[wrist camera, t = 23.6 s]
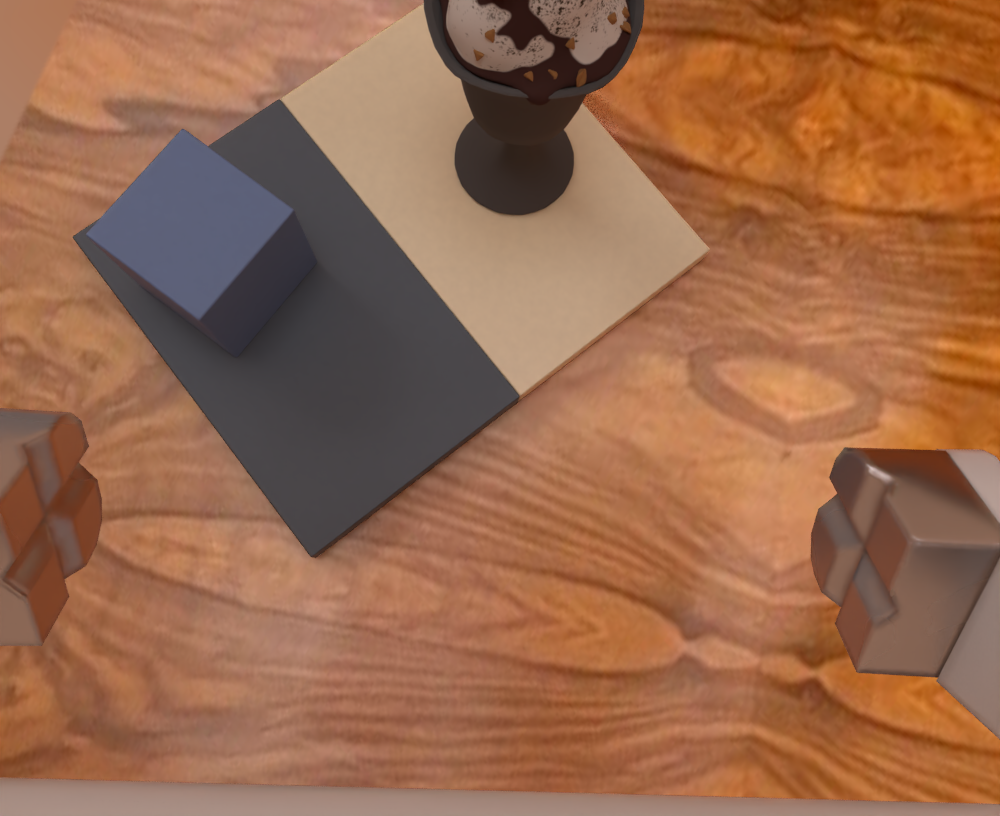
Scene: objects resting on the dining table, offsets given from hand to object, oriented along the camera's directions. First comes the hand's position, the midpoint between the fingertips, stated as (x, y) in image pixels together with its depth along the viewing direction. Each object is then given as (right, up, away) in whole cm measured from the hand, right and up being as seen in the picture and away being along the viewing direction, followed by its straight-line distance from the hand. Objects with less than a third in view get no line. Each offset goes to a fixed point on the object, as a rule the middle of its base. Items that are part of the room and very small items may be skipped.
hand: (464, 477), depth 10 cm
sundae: (+1, +11, +27) cm, 29 cm away
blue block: (-10, +6, +25) cm, 28 cm away
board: (-4, +7, +26) cm, 28 cm away
